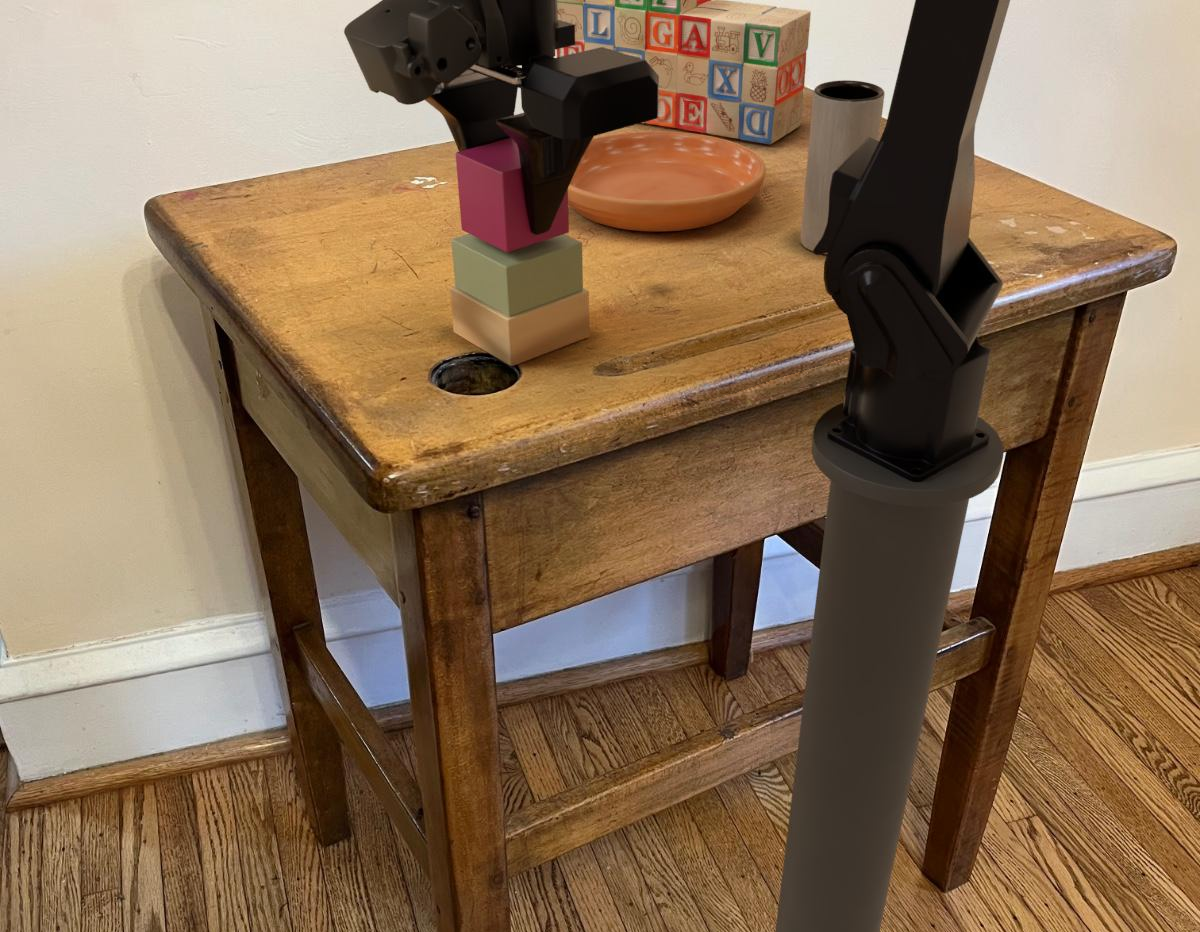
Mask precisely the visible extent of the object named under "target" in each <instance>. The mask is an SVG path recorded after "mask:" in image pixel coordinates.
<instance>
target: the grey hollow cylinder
mask: <svg viewBox="0 0 1200 932" xmlns="http://www.w3.org/2000/svg"><path fill="white" fill-rule="evenodd" d="M812 94H813V95H812V106H811V117H810V118H811V119H810V129H809V139H808V140H809V141H808V151H807V162H806V173H805V182H804V193H803V205H802V206H803V207H802V216H801V227H800V228H801V229H800V243H801V245H802V246H803V247H804V248H805V249H807V250H809V251H811V252H814V248H815V247H816V245H817V244H818V242H819V241H820V240H821V238H822V237H823V234H824V231H825V228H826V225H827V221H828V214H829V191H830V185H831V179H832V174H833V172H834V171H835V170H836V169H837V168H838V167H839V166H840V165H841V164H842V163H843V162H844V161H845V160H846V159H847V158H848V156H849V155H850V154H851V153H852V152H853V151H854V150H855V149H856V148H857V147H858V146H859V145H860V144H861V143H862V142H863V141H864V140H865V139H866V137H871V138H873V139H876V140H878V141H880V134H881V125H882V118H883V110H884V103H885V90H884V89H883V87H881V86H879V85H877V84H874V83H870V82H867V81H861V80H850V79H849V80H848V79H847V80H845V79H844V80H831V81H827V82H823V83H820V84H818V85H816V86H815V88H814V89H813V93H812ZM827 253H828V252H827ZM827 253H823V254H822V255H827Z"/></svg>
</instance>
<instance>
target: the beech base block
mask: <svg viewBox="0 0 1200 932" xmlns="http://www.w3.org/2000/svg"><path fill="white" fill-rule="evenodd" d="M449 295H450V304H451V306H450V307H451V317H452V329H453V333H454V334H456V335H457V336H459V337H460V338H462V339H464V340H466V341H468V343H470V344H472V345H474V346H476V347H478V348H479V349H480V350H483V351H484V352H486V353H488V354H489V355H491V356H493V357H494V358H496V359H498V360H499V361H501V362H502V363H505V364H506V365H508V366H509V367H515V366H516V365H517V366H518V365H519V364H522V363H525V362H528V361H530V360H533V359H535V358H538V357H540V356H543V355H546V354H548V353H550V352H553V351H557V350H559V349H561V348H564V347H566V346H568V345H572V344H574V343H576V342H579V341H581V340H584V339H587V338H589V337H590V335H591V333H590V332H591V331H590V330H591V329H590V291H589V290H587V289H585V288H583V290H582V291H579V292H577V293H574V294H571V295H568V296H566V297H563V298H560V299H557V300H554V301H552V302H549V303H546V304H543V305H541V306H538V307H535V308H532V309H529V310H527V311H524V312H521V313H518V314H516V315H513V316H507V315H506V314H504V313H502V312H500V311H498V310H497V309H495V308H493V307H491V306H489V305H487V304H486V303H484V302H482V301H480V300H478V299H477V298H475V297H473V296H471V295H469V294H468V293H466V292H464V291H462V290H460V289H459V288H457V287H456V286H455V285H453V286H450V287H449Z"/></svg>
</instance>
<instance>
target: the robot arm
mask: <svg viewBox="0 0 1200 932" xmlns="http://www.w3.org/2000/svg"><path fill="white" fill-rule="evenodd" d="M1010 2H1011V0H915V1H914V5H913V9H912V13H911V17H910V22H909V26H908V30H907V34H906V38H905V42H904V46H903V51H902V55H901V60H900V64H899V67H898V73H897V76H896V81H895V85H894V89H893V93H892V97H891V102H890V105H889V110H888V113H887V114H888V115H887V119H886V123H885V127H884V129H883V131H882V134H881V137H879V141H878V140H876V139H873V138H871V137H866V139H865V140H864V141H863V142H862V143H861V144H860V145H859V146H858V147H857V148H856V149H855V150H854V151H853V152H852V153H851V154H850V155H849V156H848V158H847V159H846V160H845V161H844V162H843V163H842V164H841V165H840V166H839V167H838V168H837V169H836V170H835V171H834V172H833V174H832V179H831V185H830V191H829V214H828V221H827V225H826V228H825V231H824V234H823V237H822V238H821V240H820V241H819V242H818V244H817V245H816V247H815V248H814V251H813V254H814V255H816V256H818V255H824V254H823V253H827V252H828V253H827V254H826V257H825V260H824V264H823V283H824V287H825V291H826V293H827V294H828V295H830V296H831V298H832V300H833V301H834V303H835V304H836V306H837V308H838V309H839V310H840V311H841V312H842V313H843V314H845V316H846V318H847V322H848V326H849V330H850V334H851V339H852V342H853V346H854V347H853V348H852V349H850V351H849V359H848V365H847V375H846V381H845V382H846V383H845V391H844V399H843V402H844V406H843V415H844V416H846V417H847V419H845V420H843V421H841V422H839V423H837V424H835V425H833V426H831V427H830V428H828V433H827V437H828V439H830V440H832V441H834V442H835V443H837V444H839V445H841V446H843V447H845V448H847V449H849V450H851V451H853V452H855V453H857V454H859V455H861V456H863V457H865V458H866V459H868V460H870V461H872V462H874V463H876V464H878V465H880V466H882V467H884V468H886V469H888V470H890V471H892V472H894V473H896V474H897V475H899V476H901V477H903V478H905V479H907V480H909V481H912V482H921V481H924V480H926V479H927V478H929V477H931V476H933V475H934V474H936V473H938V472H940V471H942V470H943V469H945V468H947V467H949V466H951V465H952V464H954V463H956V462H958V461H960V460H961V459H963V458H965V457H967V456H968V455H970V454H972V453H974V452H976V451H977V450H979V449H981V448H983V447H985V446H986V445H988V443H989V438H990V435H989V434H988V433H986V432H984V431H982V430H980V429H978V428H976V423H977V418H978V417H979V412H980V407H981V402H982V399H983V398H982V397H983V394H984V393H983V392H984V388H985V382H986V378H987V373H988V368H989V363H990V360H991V359H990V358H991V353H992V349H991V348H990V347H988V346H985V345H983V344H981V343H980V339H979V337H978V335H979V332H980V330H981V328H982V326H983V324H984V323H985V321H986V319H987V317H988V315H989V313H990V311H991V309H992V307H993V306H994V304H995V302H996V300H997V298H998V297H999V294H1000V293H1001V291H1002V289H1003V286H1004V283H1003V280H1002V278H1001V277H1000V275H998V274H997V272H996V271H995V270H994V268H993V267H992V266H991V265H990V263H989V262H988V260H987V259H986V258H985V257H984V255H983V254H982V253H981V251H980V250H979V249H978V247H977V246H976V245H975V243H974V242H973V241H972V239H971V238H970V228H971V219H972V209H973V200H974V192H975V184H976V183H975V182H976V173H975V172H976V170H975V165H976V164H975V131H976V123H977V119H978V116H979V112H980V108H981V106H982V101H983V98H984V94H985V92H986V87H987V84H988V80H989V77H990V73H991V69H992V66H993V63H994V59H995V55H996V52H997V49H998V45H999V41H1000V39H1001V34H1002V31H1003V27H1004V24H1005V20H1006V17H1007V13H1008V10H1009V6H1010ZM343 33H344V36H345V38H346V40H347V42H348V45H349V47H350V49H351V51H352V53H353V56H354V59H355V61H356V62H357V64H358V65H357V66H358V67H359V69H360V71H361V73H362V76H363V78H364V80H365V83H366V84H367V86H368V88H369V90H370V91H371V92H373V93H376V94H378V93H379V92H380V93H382V94H385V95H388V96H391V97H392V98H394V99H395V101H396V102H398V103H400V104H402V105H406V106H407V105H416V104H418V103H421V102H424V101H425V102H426V103H428V104H429V105H430V106H432V107H433V108H434V109H435V110H437V111H438V112H439V113H440V114H441V115H442V116H443V118H444V120H445V122H446V125H447V127H448V129H449V132H450V133H451V136H452V138H453V140H454V142H455V145H456V147H457V150H458V152H460V151H464V150H467V149H471V148H475V147H478V146H482V145H486V144H489V143H493V142H497V141H501V140H504V139H508V138H511V139H512V140H513V141H514V142H515V143H516V144H517V146H518V150H519V158H520V165H521V173H522V181H523V189H524V197H525V205H526V211H527V216H528V221H529V226H530V230H531V232H532V233H533V234H535V235H539V234H542V233H545V232H547V231H549V230H550V228H551V226H552V223H553V221H554V219H555V217H556V214H557V212H558V210H559V207H560V205H561V203H562V201H563V198H564V196H565V194H566V192H567V189H568V187H569V185H570V183H571V180H572V178H573V176H574V173H575V172H576V169H577V167H578V165H579V163H580V161H581V159H582V157H583V155H584V153H585V151H586V150H587V148H588V146H589V144H590V142H591V141H592V139H593V138H594V137H596V136H600V135H603V134H607V133H610V132H614V131H617V130H621V129H624V128H629V127H631V126H635V125H639V124H643V123H642V122H646V121H650V120H653V119H657V118H658V99H659V76H658V74H657V73H656V72H655V71H654V70H653V68H652V67H651V66H650V65H649V64H648V63H647V61H646V60H643V59H640V58H637V57H633V56H630V55H627V54H624V53H620V52H617V51H614V50H611V49H607V48H604V47H600V48H596V49H591V50H587V51H583V52H579V53H574V54H570V55H566V56H562V57H557V56H556V49H560V48H564V47H568V46H573V45H575V25H574V24H571V23H567V22H564V21H561V20H558V6H557V0H381V1H378V2H377V3H376V4H374V5H373V6H372V7H370V8H369V9H367V10H366V11H364V12H363V13H361V14H360V15H359V16H357V17H355V18H354V19H353V20H352V21H350V22H349V23H348V24H347V25H346V26H345V27H344V29H343ZM520 66H521V67H520ZM518 89H520V101H521V110H522V111H523V112H521V113H518V114H515V112H516V105H517V97H518Z"/></svg>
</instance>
